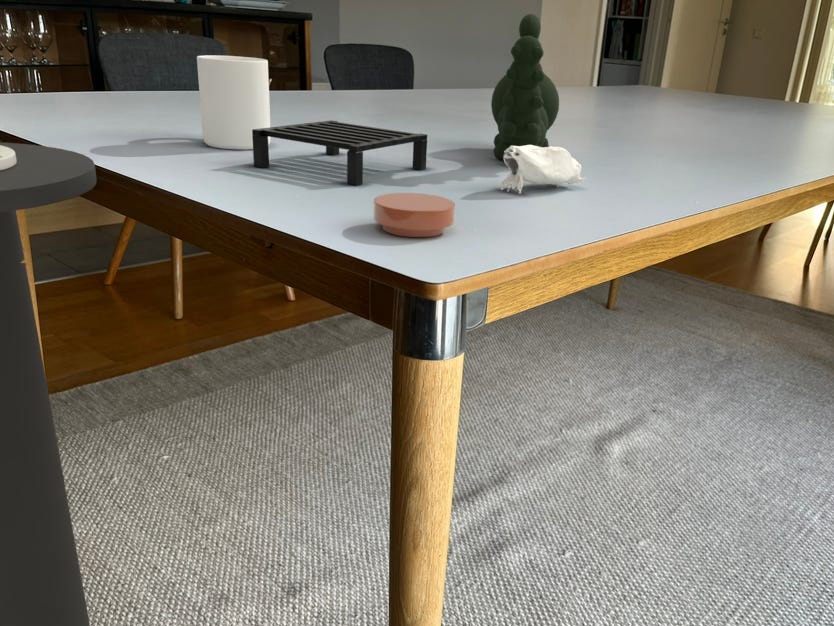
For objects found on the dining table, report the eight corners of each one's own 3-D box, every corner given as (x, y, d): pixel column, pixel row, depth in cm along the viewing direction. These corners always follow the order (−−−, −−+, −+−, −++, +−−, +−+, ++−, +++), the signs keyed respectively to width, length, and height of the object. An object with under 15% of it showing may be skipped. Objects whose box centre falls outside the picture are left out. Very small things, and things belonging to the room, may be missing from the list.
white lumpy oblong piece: (539, 210, 81) (592, 178, 87) (525, 147, 78) (581, 118, 84) (504, 210, 84) (558, 179, 90) (489, 149, 81) (546, 121, 87)
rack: (356, 185, 80) (356, 146, 78) (253, 166, 85) (251, 129, 84) (426, 168, 91) (427, 134, 90) (331, 152, 97) (331, 120, 95)
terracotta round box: (426, 245, 61) (428, 215, 60) (357, 229, 64) (357, 201, 63) (467, 228, 67) (469, 201, 66) (401, 215, 69) (402, 189, 68)
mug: (181, 136, 100) (174, 52, 96) (241, 134, 105) (237, 54, 101) (219, 151, 92) (213, 60, 88) (282, 148, 97) (279, 61, 93)
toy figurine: (553, 187, 95) (553, 141, 116) (572, 21, 85) (568, 4, 107) (478, 181, 95) (492, 136, 117) (488, 15, 86) (501, -1, 108)
